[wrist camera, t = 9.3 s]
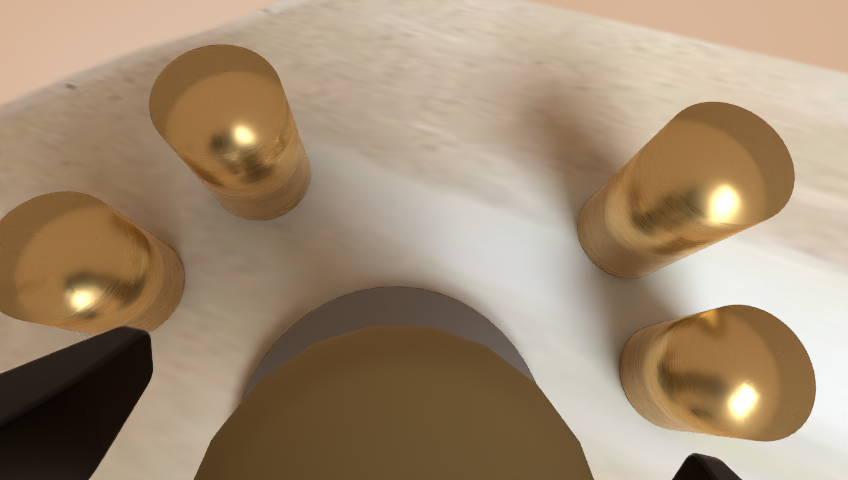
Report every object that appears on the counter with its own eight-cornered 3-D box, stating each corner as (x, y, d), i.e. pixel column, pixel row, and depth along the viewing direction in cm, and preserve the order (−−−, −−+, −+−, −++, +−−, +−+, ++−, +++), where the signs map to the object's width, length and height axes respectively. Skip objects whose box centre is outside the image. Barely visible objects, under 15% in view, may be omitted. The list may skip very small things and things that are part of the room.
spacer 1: (124, 361, 16) (39, 351, 12) (52, 292, 16) (-51, 261, 12) (207, 279, 17) (153, 246, 13) (136, 217, 17) (64, 167, 13)
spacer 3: (639, 297, 18) (758, 251, 12) (559, 237, 18) (637, 166, 12) (685, 227, 19) (816, 154, 13) (608, 172, 19) (702, 78, 13)
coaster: (415, 710, 13) (416, 724, 13) (167, 467, 15) (159, 470, 14) (601, 416, 16) (609, 417, 16) (378, 235, 18) (377, 230, 17)
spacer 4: (689, 453, 16) (782, 472, 12) (600, 383, 17) (663, 379, 13) (736, 367, 17) (836, 360, 13) (652, 304, 18) (724, 279, 14)
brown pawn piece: (341, 604, 14) (181, 1310, 3) (264, 403, 15) (-20, 427, 5) (522, 496, 15) (846, 746, 4) (434, 320, 16) (516, 187, 6)
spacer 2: (262, 239, 17) (214, 180, 13) (192, 179, 18) (120, 102, 13) (330, 171, 18) (309, 93, 14) (262, 117, 19) (219, 23, 14)
